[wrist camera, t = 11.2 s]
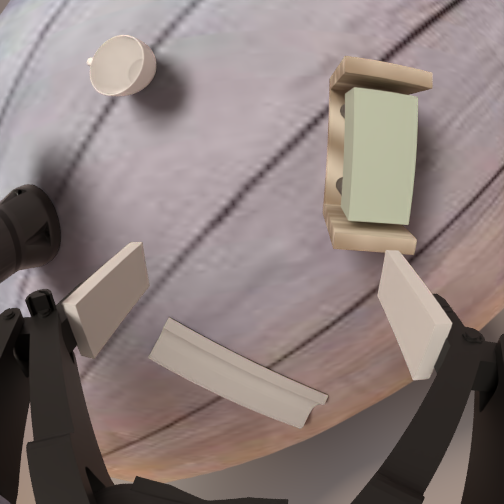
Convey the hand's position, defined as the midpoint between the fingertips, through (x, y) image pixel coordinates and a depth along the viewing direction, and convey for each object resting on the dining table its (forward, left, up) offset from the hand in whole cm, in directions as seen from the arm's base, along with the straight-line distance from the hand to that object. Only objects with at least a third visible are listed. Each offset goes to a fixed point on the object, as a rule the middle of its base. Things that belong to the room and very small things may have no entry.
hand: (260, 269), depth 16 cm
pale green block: (+2, +11, -17) cm, 21 cm away
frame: (+2, +11, -23) cm, 26 cm away
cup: (-25, -5, -24) cm, 35 cm away
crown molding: (+22, -26, -24) cm, 42 cm away
